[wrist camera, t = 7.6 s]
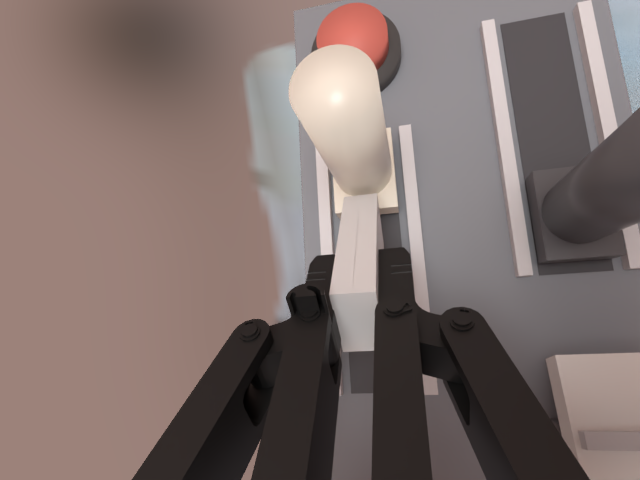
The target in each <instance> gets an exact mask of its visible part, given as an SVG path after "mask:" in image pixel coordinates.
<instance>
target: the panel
mask: <svg viewBox="0 0 640 480" xmlns="http://www.w3.org/2000/svg"><path fill="white" fill-rule="evenodd" d="M294 27H295V49H296V67H297V66H298V65H299V63H300V62H301V61H302V60H303V59H304V58H305V57H307V56H308V55H309V54H311V53H312V52H314V51H316V50H317V49H320V48H322V47H325V46H329V45H337V44H342V45H349V46H353V47H355V48H358V49H360V50H361V51H363V52H364V53H366V54H367V55H368V56H369V57H370V59H371V60H372V61H373V63H374V65H375V67H376V70H377V74H378V80H379V86H380V93H381V99H382V105H383V112H384V118H385V125H386V128H390V127H391V134H392V143H393V154H394V165H395V176H396V187H397V198H398V209H399V213H390V214H381V215H380V219H381V226H382V234H383V241H384V249H388V248H399V247H404V248H405V249H406V250H407V251H408V253H409V254H410V257H411V267H412V277H413V287H414V297H415V301H416V303H417V304H418V306H419V307H421V308H422V309H423V310H425V311H427V312H430V313H434V314H439V315H442V314H443V313H444V312H445V311H446V310H448V309H451V308H453V307H466V308H471V309H473V310H475V311H477V312H479V313H480V314H481V315H482V316H483V317H484V319H485V320H486V322H487V323H488V325H489V326H490V328H491V329H492V331H493V332H494V334H495V335H496V337H497V338H498V340H499V342H500V343H501V345H502V346H503V348H504V349H505V351H506V352H507V354H508V355H509V357H510V358H511V360H512V361H513V363H514V364H515V366H516V367H517V369H518V370H519V372H520V374H521V375H522V377H523V378H524V380H525V381H526V383H527V384H528V386H529V387H530V389H531V390H532V392H533V393H534V395H535V396H536V398H537V399H538V401H539V403H540V404H541V406H542V407H543V409H544V410H545V412H546V413H547V415H548V416H549V418H550V419H551V421H552V422H553V424H554V425H555V427H556V428H557V430H558V432H559V433H560V435H561V436H562V434H561V430H560V425H559V420H558V415H557V411H556V406H555V401H554V397H553V392H552V387H551V382H550V378H549V373H548V368H547V363H546V359H547V358H549V357H552V356H554V355H573V354H606V353H640V223H637V224H635V225H632V226H630V227H628V228H625V229H623V230H622V232H623V237H624V242H625V247H626V252H627V255H624V256H620V257H617V258H613V259H599V260H585V261H572V262H558V263H545V264H538V257H537V251H536V244H535V238H534V231H533V225H532V219H531V212H530V206H529V199H528V193H527V187H526V178H527V177H528V176H529V175H530V174H531V172H532V171H537V170H546V169H554V168H563V167H571V166H577V165H578V164H579V163H580V162H581V161H582V160H583V159H584V158H585V157H587V156H588V155H589V154H590V153H591V152H592V151H593V150H594V149H595V148H596V147H597V146H598V145H600V144H601V143H602V142H603V141H604V140H605V139H606V138H607V137H608V136H609V135H610V134H612V133H613V132H614V131H615V130H616V129H617V128H618V127H619V126H620V125H621V124H622V123H623V122H625V121H626V120H627V119H628V118H629V117H630V116H631V115H632V110H631V105H630V100H629V96H628V91H627V87H626V82H625V77H624V73H623V68H622V63H621V59H620V54H619V50H618V45H617V40H616V36H615V31H614V26H613V22H612V17H611V12H610V8H609V3H608V0H343V1H338V2H334V3H329V4H325V5H320V6H316V7H311V8H307V9H302V10H297V11H294ZM299 138H300V160H301V182H302V205H303V227H304V249H305V271H306V278H307V274H308V270H309V265H310V263H311V262H312V261H313V259H314V258H315V257H316V256H317V255H329V254H335V253H336V246H337V240H338V233H339V227H340V220H341V219H339V217H338V216H337V215H336V214H335V203H334V186H333V176H332V174H331V172H330V170H329V169H328V167H327V165H326V164H325V162H324V160H323V159H322V157H321V155H320V154H319V152H318V150H317V149H316V147H315V145H314V144H313V142H312V140H311V139H310V137H309V135H308V134H307V132H306V130H305V129H304V127H303V125H302V124H301V122H300V120H299ZM340 357H341V361H342V370H341V381H340V392H339V403H338V414H337V425H336V436H335V446H334V457H333V468H332V479H331V480H371V475H372V425H373V375H374V351H354V352H343V350H342V346H340ZM422 376H423V386H424V396H425V407H426V417H427V427H428V437H429V448H430V458H431V468H432V478H433V480H486V477H485V475H484V473H483V471H482V468H481V466H480V464H479V462H478V459H477V457H476V455H475V453H474V450H473V448H472V446H471V444H470V441H469V439H468V437H467V435H466V432H465V430H464V428H463V426H462V423H461V421H460V419H459V417H458V415H457V412H456V410H455V408H454V406H453V403H452V401H451V399H450V397H449V394H448V392H447V390H446V388H445V385H444V383H443V380H442V379H439V378H435V377H431V376H427V375H423V374H422Z"/></svg>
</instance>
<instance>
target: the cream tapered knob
mask: <svg viewBox="0 0 640 480" xmlns="http://www.w3.org/2000/svg"><path fill="white" fill-rule="evenodd" d="M289 100H290V104H291V106H292V108H293V110H294V112H295V114H296V115H297V117H298V119H299V120H300V122H301V124H302V125H303V127H304V129H305V130H306V132H307V134H308V135H309V137H310V139H311V140H312V142H313V144H314V145H315V147H316V149H317V150H318V152H319V154H320V155H321V157H322V159H323V160H324V162H325V164H326V165H327V167H328V169H329V170H330V172H331V174H332V176H333V186H334V203H335V214H336V215H337V216H338V217H339V219H341V214H342V207H343V200H344V197H348V196H357V195H366V194H374V193H377V196H378V204H379V211H380V215H381V214H390V213H399V209H398V198H397V187H396V176H395V165H394V154H393V143H392V134H391V127H390V128H386V125H385V118H384V112H383V105H382V99H381V93H380V86H379V80H378V74H377V70H376V67H375V65H374V63H373V61H372V60H371V59H370V57H369V56H368V55H367V54H366V53H364V52H363V51H361V50H360V49H358V48H355V47H353V46H349V45H342V44H337V45H329V46H325V47H322V48H320V49H317V50H316V51H314V52H312V53H311V54H309V55H308V56H307V57H305V58H304V59H303V60H302V61H301V62H300V63H299V65H298V66H297V67H296V69H295V71H294V73H293V75H292V77H291V80H290V84H289Z"/></svg>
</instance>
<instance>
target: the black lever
mask: <svg viewBox="0 0 640 480" xmlns="http://www.w3.org/2000/svg"><path fill="white" fill-rule="evenodd" d="M526 187H527V193H528V199H529V206H530V212H531V219H532V225H533V231H534V238H535V244H536V251H537V257H538V264H545V263H558V262H572V261H585V260H599V259H613V258H617V257H620V256H624V255H627V252H626V247H625V242H624V237H623V232H622V230H623V229H625V228H628V227H630V226H632V225H635V224H637V223H640V108H639V109H638V110H636V111H635V112H634V113H633V114H632V115H631V116H630V117H629V118H628V119H627V120H626V121H625V122H623V123H622V124H621V125H620V126H619V127H618V128H617V129H616V130H615V131H614V132H613V133H612V134H610V135H609V136H608V137H607V138H606V139H605V140H604V141H603V142H602V143H601V144H600V145H598V146H597V147H596V148H595V149H594V150H593V151H592V152H591V153H590V154H589V155H588V156H587V157H585V158H584V159H583V160H582V161H581V162H580V163H579V164H578V165H577V166H571V167H563V168H554V169H546V170H537V171H532V172H531V174H530V175H529V176H528V177H527V178H526Z"/></svg>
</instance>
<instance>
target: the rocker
mask: <svg viewBox="0 0 640 480" xmlns="http://www.w3.org/2000/svg"><path fill="white" fill-rule="evenodd" d="M546 363H547V368H548V373H549V378H550V382H551V387H552V392H553V397H554V401H555V406H556V411H557V415H558V420H559V425H560V430H561V434H562V438H563V439H564V441H565V442H566V444H567V445H568V447H569V448H570V450H571V451H572V453H573V454H574V456H575V457H576V459H577V460H578V462H579V464H580V465H581V467H582V468H583V470H584V471H585V473H586V474H587V476H588V477H589V479H590V480H640V353H606V354H573V355H554V356H552V357H549V358H547V359H546Z"/></svg>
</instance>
